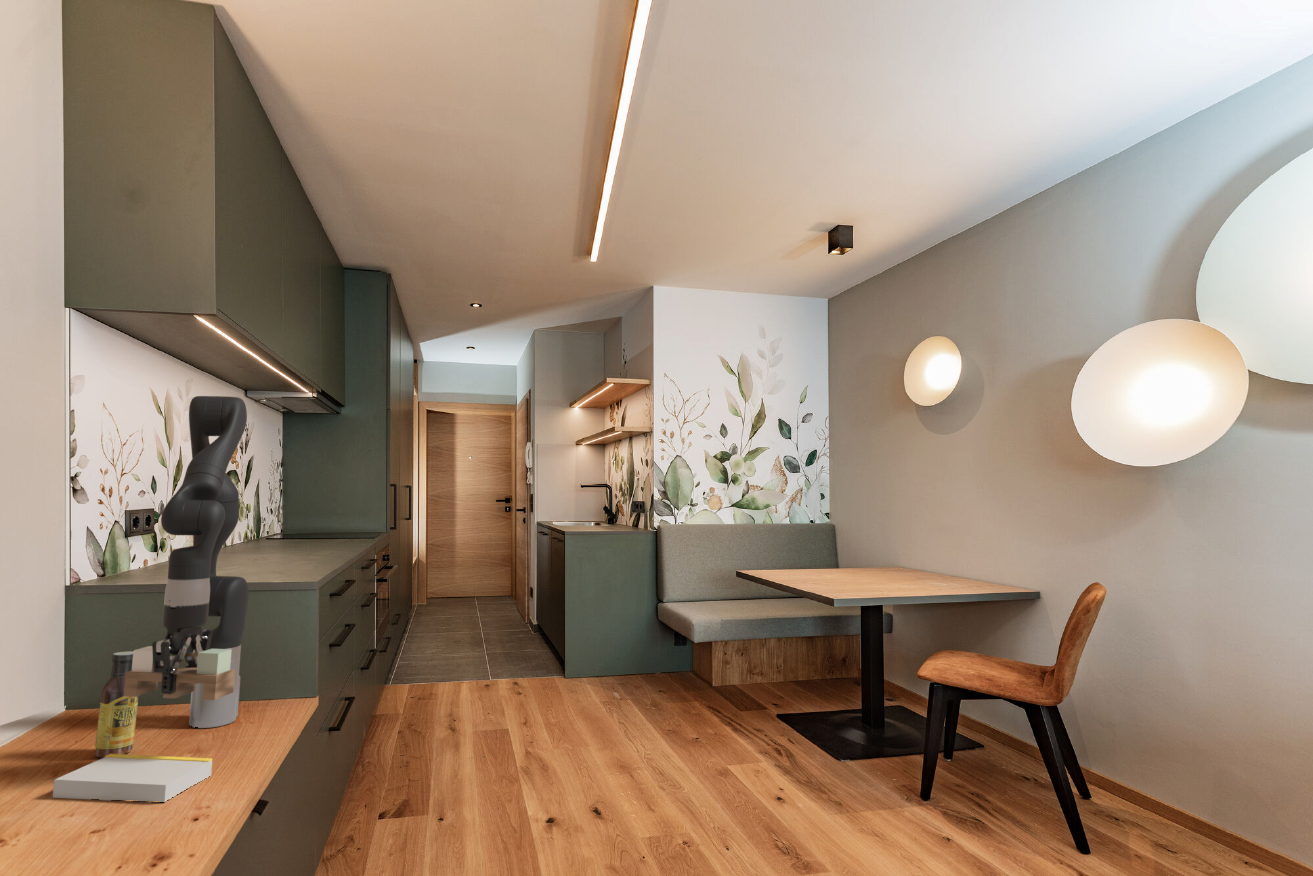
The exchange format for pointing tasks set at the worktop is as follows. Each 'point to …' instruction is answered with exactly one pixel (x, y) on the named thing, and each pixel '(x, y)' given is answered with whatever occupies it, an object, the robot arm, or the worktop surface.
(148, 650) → the white crate
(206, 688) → the pallet
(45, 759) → the worktop surface
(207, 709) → the robot arm
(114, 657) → the sauce bottle
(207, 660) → the block
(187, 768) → the block
